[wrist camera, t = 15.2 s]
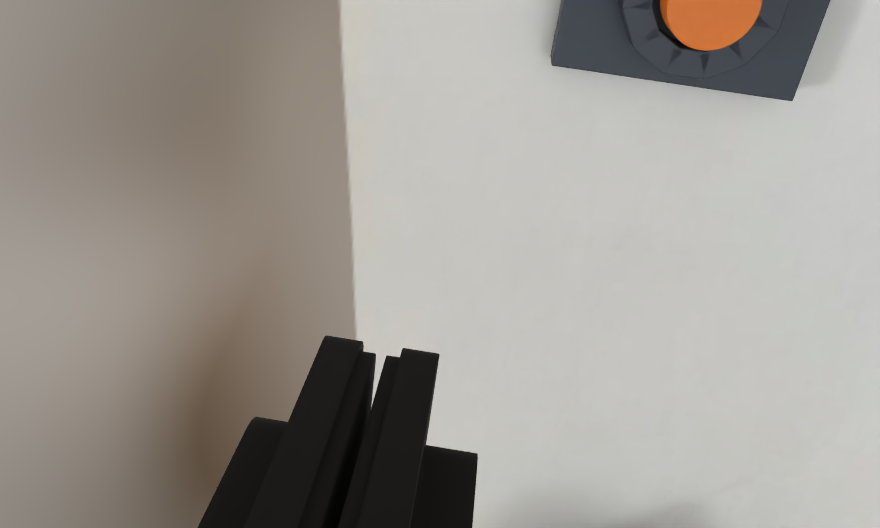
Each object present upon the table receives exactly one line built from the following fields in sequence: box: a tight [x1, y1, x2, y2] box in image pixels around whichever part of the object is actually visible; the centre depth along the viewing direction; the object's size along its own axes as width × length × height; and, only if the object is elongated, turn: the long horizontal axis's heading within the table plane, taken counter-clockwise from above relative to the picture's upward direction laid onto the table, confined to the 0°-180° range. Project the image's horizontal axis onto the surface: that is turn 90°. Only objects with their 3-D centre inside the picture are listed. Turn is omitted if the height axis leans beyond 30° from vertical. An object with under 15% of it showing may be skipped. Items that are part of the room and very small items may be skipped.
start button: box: [660, 0, 763, 51], centre depth 29 cm, size 4×4×2 cm
